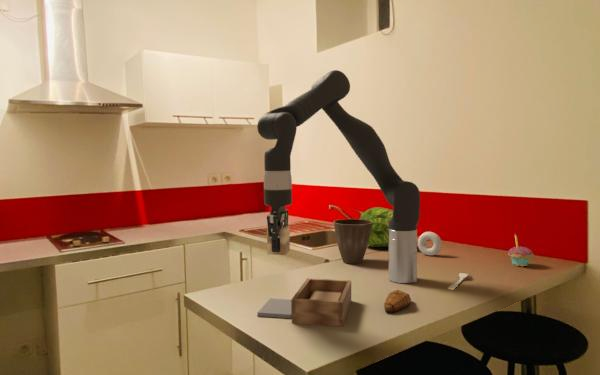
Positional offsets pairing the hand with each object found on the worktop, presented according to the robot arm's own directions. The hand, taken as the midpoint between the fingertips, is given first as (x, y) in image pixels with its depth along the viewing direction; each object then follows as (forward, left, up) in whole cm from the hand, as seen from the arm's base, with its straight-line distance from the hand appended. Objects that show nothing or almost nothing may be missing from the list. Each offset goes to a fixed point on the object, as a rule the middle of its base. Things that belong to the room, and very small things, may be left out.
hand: (278, 249), depth 125 cm
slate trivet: (0, 0, -17) cm, 17 cm away
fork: (-51, -36, -17) cm, 65 cm away
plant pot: (-14, -59, -17) cm, 63 cm away
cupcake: (-76, -63, -17) cm, 100 cm away
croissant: (-32, -8, -17) cm, 37 cm away
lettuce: (-25, -88, -17) cm, 93 cm away
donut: (-44, -75, -17) cm, 89 cm away
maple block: (0, 0, -1) cm, 1 cm away
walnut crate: (-12, -1, -17) cm, 21 cm away
